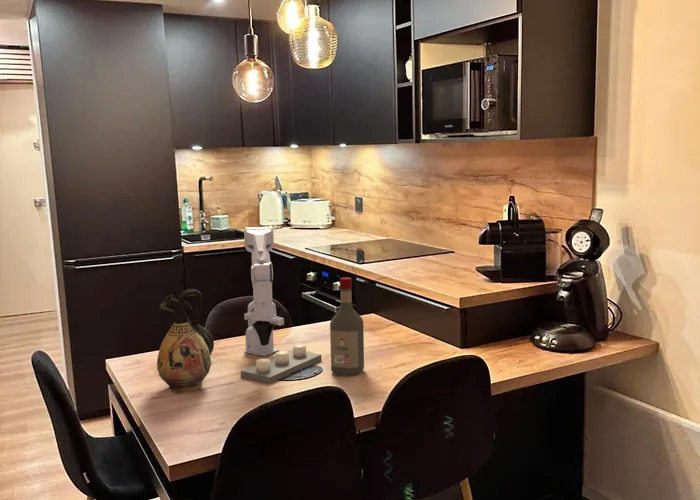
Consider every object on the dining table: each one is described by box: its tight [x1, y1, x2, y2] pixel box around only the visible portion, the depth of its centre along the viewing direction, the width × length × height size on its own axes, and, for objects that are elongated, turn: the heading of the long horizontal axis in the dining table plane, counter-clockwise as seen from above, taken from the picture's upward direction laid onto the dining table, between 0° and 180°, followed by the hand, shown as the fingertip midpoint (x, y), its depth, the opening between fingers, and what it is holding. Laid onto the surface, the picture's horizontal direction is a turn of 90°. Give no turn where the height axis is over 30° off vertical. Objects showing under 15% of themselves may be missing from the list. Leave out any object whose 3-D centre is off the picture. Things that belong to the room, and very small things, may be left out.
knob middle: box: [274, 350, 289, 364], centre depth 210 cm, size 4×4×5 cm
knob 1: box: [255, 358, 271, 372], centre depth 202 cm, size 4×4×5 cm
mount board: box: [240, 348, 322, 385], centre depth 210 cm, size 12×26×2 cm, turn 146°
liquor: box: [329, 276, 365, 378], centre depth 203 cm, size 9×9×30 cm
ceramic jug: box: [156, 288, 212, 394], centre depth 192 cm, size 17×15×30 cm
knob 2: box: [292, 343, 307, 357], centre depth 217 cm, size 4×4×5 cm
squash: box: [198, 323, 215, 356], centre depth 218 cm, size 14×15×15 cm
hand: (264, 344), depth 203 cm, fingers closed
